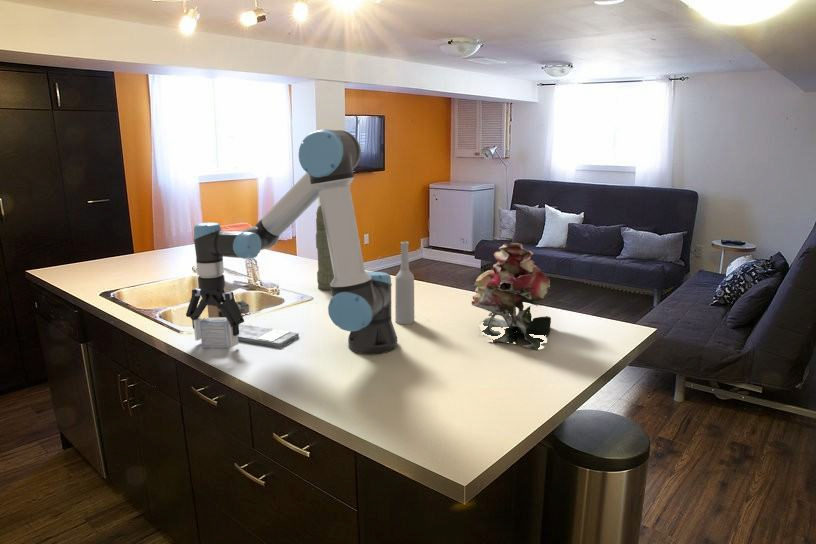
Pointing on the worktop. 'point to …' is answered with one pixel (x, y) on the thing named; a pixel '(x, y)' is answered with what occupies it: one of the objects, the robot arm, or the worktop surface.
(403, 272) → the bottle
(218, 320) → the medicine box
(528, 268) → the rose bouquet
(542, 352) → the worktop surface
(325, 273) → the thermos
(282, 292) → the worktop surface
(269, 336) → the rail
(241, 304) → the egg carton
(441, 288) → the worktop surface
